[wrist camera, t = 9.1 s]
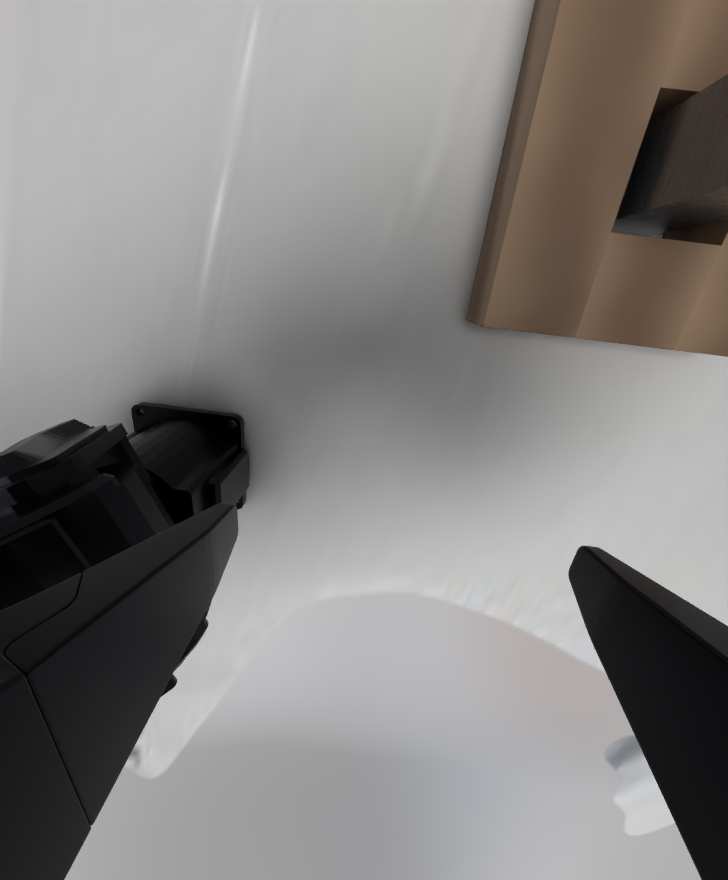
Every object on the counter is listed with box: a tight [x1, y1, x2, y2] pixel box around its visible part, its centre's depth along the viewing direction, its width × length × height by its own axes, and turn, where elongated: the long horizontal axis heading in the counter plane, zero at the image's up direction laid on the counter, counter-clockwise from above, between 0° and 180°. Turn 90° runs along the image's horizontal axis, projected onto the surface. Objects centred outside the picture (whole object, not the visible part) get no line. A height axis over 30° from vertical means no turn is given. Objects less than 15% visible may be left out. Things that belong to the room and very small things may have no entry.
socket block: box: [466, 0, 728, 357], centre depth 14 cm, size 12×12×4 cm
